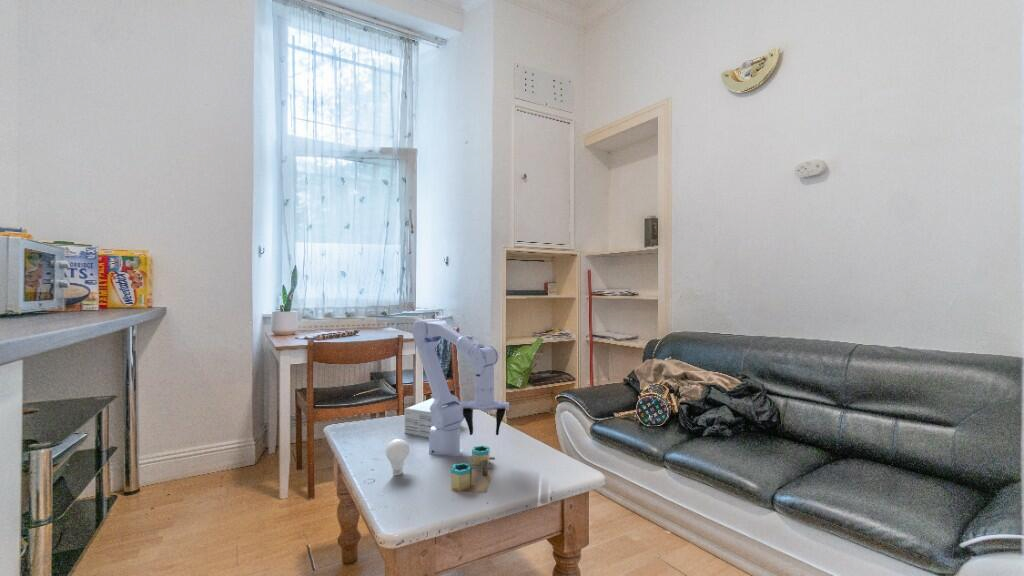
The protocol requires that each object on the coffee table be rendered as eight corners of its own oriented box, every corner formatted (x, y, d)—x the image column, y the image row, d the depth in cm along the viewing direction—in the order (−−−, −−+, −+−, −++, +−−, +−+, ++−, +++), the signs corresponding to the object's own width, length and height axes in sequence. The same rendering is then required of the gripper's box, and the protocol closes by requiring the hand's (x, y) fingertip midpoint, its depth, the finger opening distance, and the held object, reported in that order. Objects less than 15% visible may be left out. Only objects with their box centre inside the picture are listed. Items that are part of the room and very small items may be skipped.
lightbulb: (397, 485, 118) (396, 445, 118) (380, 480, 121) (380, 440, 121) (414, 476, 123) (413, 437, 123) (398, 471, 126) (397, 433, 126)
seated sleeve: (449, 490, 111) (449, 471, 111) (454, 481, 117) (454, 462, 117) (468, 491, 111) (468, 472, 111) (472, 481, 116) (472, 463, 116)
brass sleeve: (471, 469, 126) (471, 452, 126) (474, 461, 132) (474, 445, 132) (487, 470, 126) (487, 452, 126) (490, 462, 131) (490, 445, 131)
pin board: (451, 496, 111) (451, 475, 111) (462, 474, 124) (462, 455, 124) (486, 498, 110) (486, 476, 110) (493, 475, 123) (493, 456, 123)
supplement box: (434, 439, 154) (433, 412, 154) (404, 433, 159) (403, 408, 159) (459, 425, 169) (459, 400, 169) (431, 420, 175) (431, 397, 174)
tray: (466, 473, 125) (466, 467, 125) (471, 462, 133) (471, 456, 133) (490, 474, 125) (490, 467, 124) (494, 462, 132) (494, 456, 132)
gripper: (457, 391, 125) (457, 438, 126) (508, 391, 125) (508, 438, 125) (461, 385, 132) (461, 430, 133) (509, 385, 132) (509, 430, 132)
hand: (484, 433), depth 129 cm, fingers open, 7 cm apart
